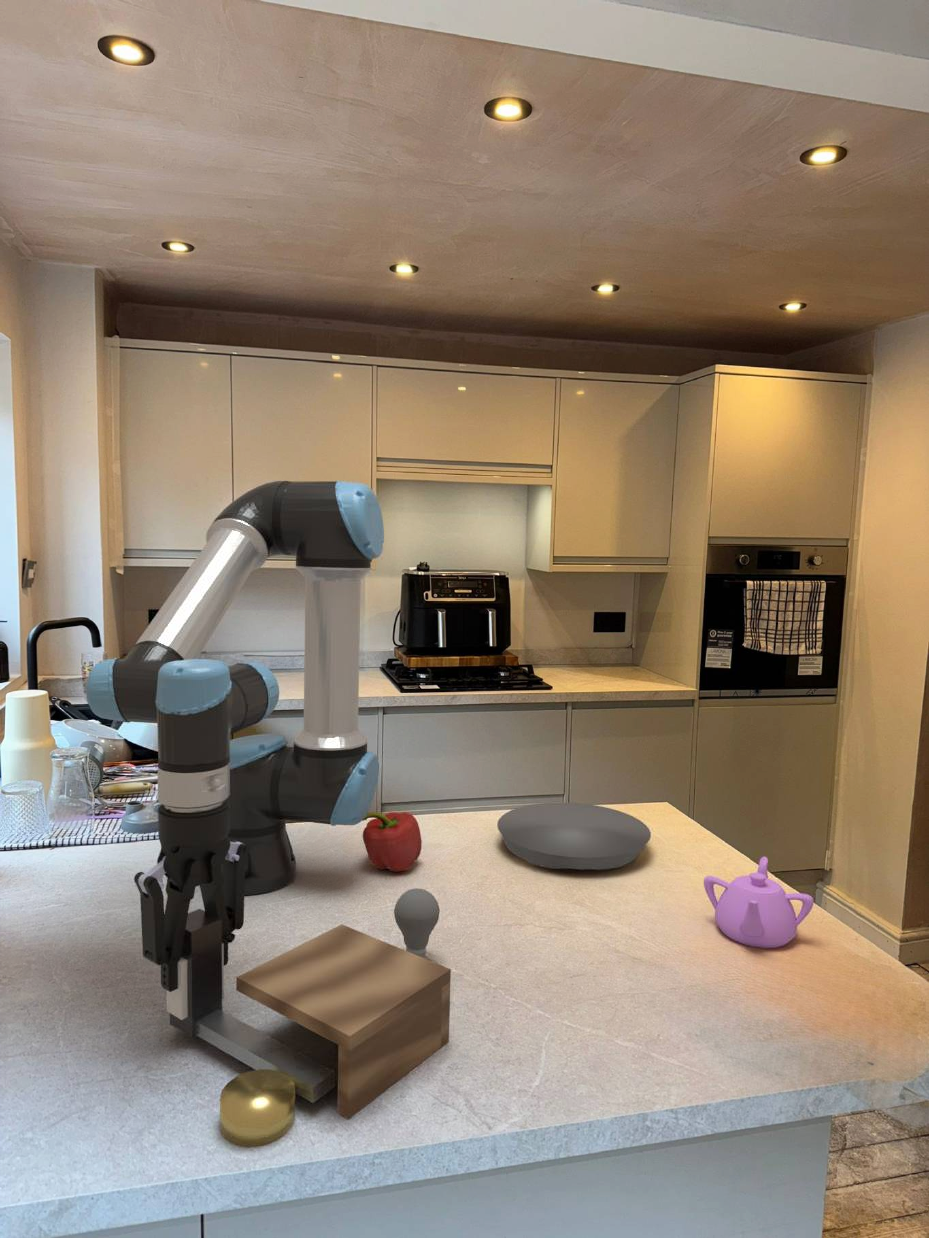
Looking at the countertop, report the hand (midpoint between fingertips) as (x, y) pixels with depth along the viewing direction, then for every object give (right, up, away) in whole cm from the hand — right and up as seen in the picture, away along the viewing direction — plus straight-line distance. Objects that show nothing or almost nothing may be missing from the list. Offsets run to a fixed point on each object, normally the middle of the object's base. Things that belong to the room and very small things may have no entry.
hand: (195, 1004), depth 93 cm
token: (+10, -5, -13) cm, 17 cm away
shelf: (+17, -4, -1) cm, 17 cm away
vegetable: (+17, 0, +49) cm, 52 cm away
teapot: (+73, -3, +28) cm, 78 cm away
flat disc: (+50, 0, +60) cm, 78 cm away
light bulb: (+24, -3, +17) cm, 30 cm away
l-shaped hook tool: (+7, -3, -5) cm, 9 cm away
